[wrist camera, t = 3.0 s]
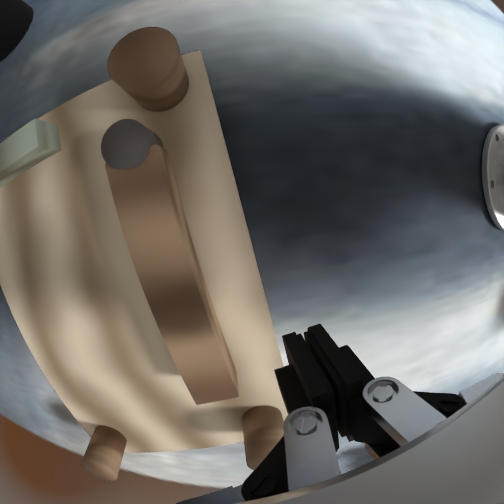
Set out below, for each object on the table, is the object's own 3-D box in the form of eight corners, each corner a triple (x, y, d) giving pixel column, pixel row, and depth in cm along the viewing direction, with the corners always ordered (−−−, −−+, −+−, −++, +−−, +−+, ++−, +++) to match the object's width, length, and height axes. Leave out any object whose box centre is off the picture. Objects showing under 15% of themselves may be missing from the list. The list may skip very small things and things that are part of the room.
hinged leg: (117, 140, 15) (93, 131, 12) (161, 124, 15) (146, 110, 12) (198, 378, 20) (196, 410, 16) (236, 370, 20) (239, 402, 16)
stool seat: (202, 61, 16) (194, 9, 10) (294, 414, 24) (311, 466, 18) (-14, 167, 16) (-64, 170, 9) (107, 440, 24) (93, 483, 17)
